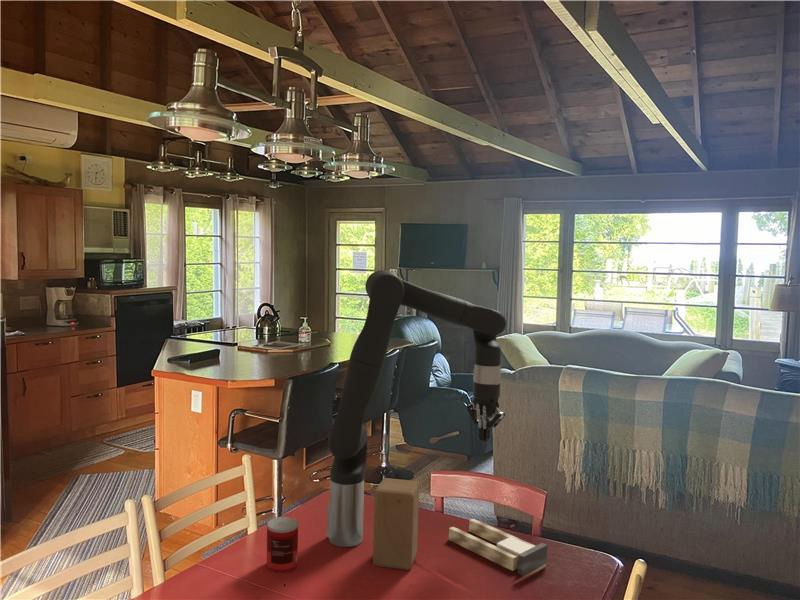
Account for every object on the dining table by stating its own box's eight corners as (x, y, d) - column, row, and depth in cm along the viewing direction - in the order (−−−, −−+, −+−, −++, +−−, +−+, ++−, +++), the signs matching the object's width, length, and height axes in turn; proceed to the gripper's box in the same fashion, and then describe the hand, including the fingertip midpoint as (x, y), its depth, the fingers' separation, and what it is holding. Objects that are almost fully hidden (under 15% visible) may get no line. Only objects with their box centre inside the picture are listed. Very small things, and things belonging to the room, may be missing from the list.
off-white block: (496, 558, 165) (496, 543, 165) (510, 551, 170) (511, 536, 169) (521, 570, 160) (521, 554, 159) (535, 562, 164) (536, 547, 163)
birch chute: (445, 541, 176) (446, 521, 175) (469, 531, 183) (470, 512, 182) (522, 578, 157) (523, 556, 156) (546, 566, 164) (547, 545, 163)
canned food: (285, 554, 166) (286, 514, 165) (303, 566, 160) (304, 524, 159) (260, 564, 160) (260, 522, 159) (278, 576, 155) (278, 533, 154)
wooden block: (410, 572, 159) (413, 494, 157) (371, 566, 161) (373, 490, 159) (417, 553, 168) (420, 480, 167) (380, 548, 170) (382, 476, 169)
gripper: (460, 377, 180) (457, 437, 181) (496, 386, 170) (493, 449, 171) (478, 374, 185) (475, 433, 186) (514, 383, 175) (511, 444, 176)
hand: (484, 440), depth 179 cm, fingers closed
